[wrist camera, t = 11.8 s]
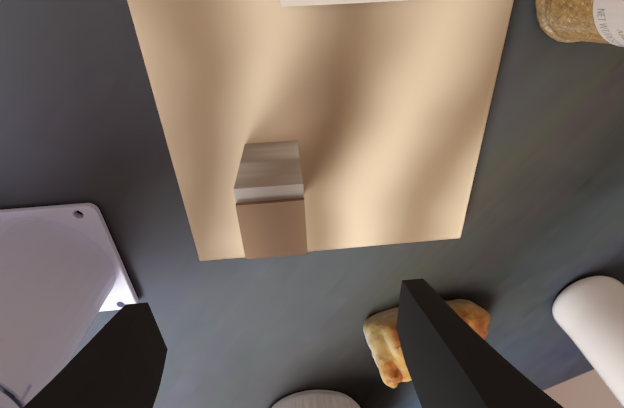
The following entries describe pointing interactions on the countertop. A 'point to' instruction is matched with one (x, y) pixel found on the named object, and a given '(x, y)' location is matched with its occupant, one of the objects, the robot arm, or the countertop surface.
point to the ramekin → (317, 400)
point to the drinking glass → (596, 325)
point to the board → (326, 109)
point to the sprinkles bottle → (582, 20)
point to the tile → (326, 2)
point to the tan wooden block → (271, 200)
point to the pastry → (387, 343)
